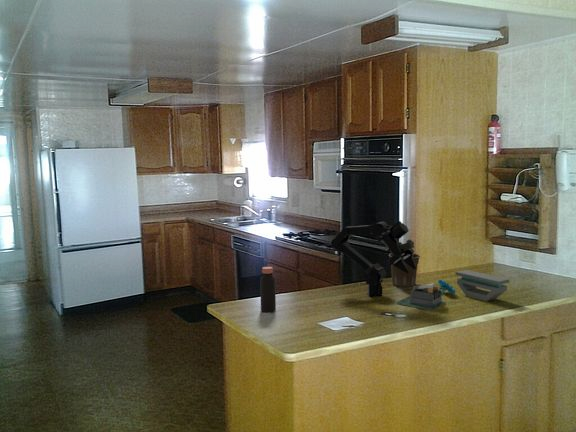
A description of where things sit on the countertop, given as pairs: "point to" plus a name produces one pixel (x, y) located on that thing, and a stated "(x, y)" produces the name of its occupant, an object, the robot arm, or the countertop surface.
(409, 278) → the plant pot
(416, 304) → the heatsink board
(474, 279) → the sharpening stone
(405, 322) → the countertop surface
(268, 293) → the bottle
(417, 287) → the retention strap
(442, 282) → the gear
